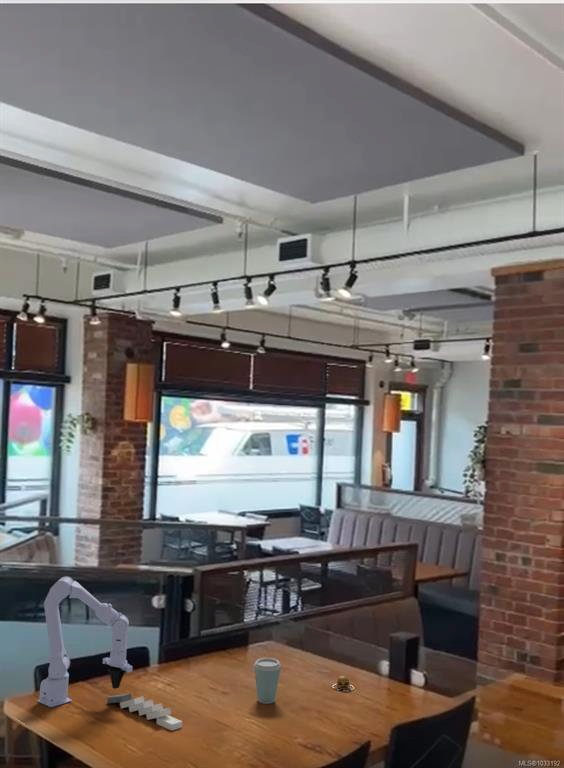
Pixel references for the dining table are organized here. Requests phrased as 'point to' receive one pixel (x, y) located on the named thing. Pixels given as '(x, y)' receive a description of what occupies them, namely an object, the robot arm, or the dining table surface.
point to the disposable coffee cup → (267, 679)
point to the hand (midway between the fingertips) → (115, 687)
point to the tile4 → (150, 709)
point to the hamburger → (343, 683)
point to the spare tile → (119, 698)
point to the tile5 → (158, 713)
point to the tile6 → (169, 722)
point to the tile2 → (132, 702)
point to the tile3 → (141, 705)
